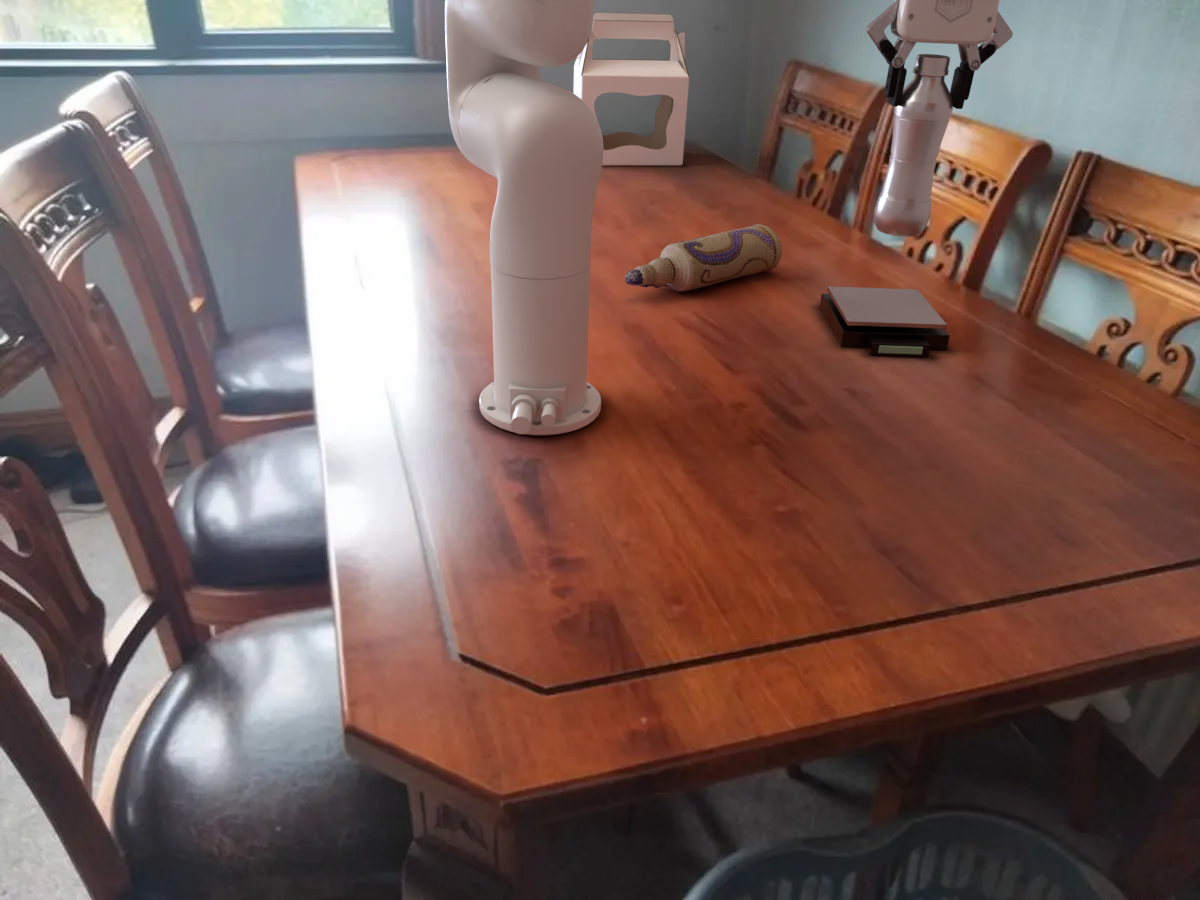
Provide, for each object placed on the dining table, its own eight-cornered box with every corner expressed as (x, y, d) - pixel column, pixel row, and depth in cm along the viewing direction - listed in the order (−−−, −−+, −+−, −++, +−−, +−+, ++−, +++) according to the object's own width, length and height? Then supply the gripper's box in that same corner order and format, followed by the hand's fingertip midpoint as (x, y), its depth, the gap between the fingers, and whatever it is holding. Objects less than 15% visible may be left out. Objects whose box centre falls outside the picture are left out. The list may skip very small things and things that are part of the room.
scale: (953, 359, 109) (959, 334, 107) (845, 355, 109) (849, 330, 107) (915, 310, 122) (920, 288, 121) (819, 307, 122) (823, 284, 120)
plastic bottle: (864, 237, 109) (897, 56, 99) (877, 223, 114) (910, 50, 104) (919, 246, 106) (958, 62, 96) (930, 232, 111) (968, 55, 101)
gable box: (578, 165, 187) (581, 15, 173) (571, 151, 198) (573, 9, 184) (683, 165, 190) (695, 18, 176) (670, 151, 201) (680, 11, 187)
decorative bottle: (745, 261, 138) (750, 217, 134) (780, 276, 132) (787, 231, 129) (607, 291, 124) (609, 244, 121) (640, 310, 119) (644, 261, 116)
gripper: (887, -82, 90) (855, 109, 99) (1060, -75, 90) (1012, 114, 99) (868, -82, 97) (840, 97, 106) (1030, -75, 97) (988, 102, 106)
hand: (924, 104), depth 102 cm, fingers closed on plastic bottle, 6 cm apart
